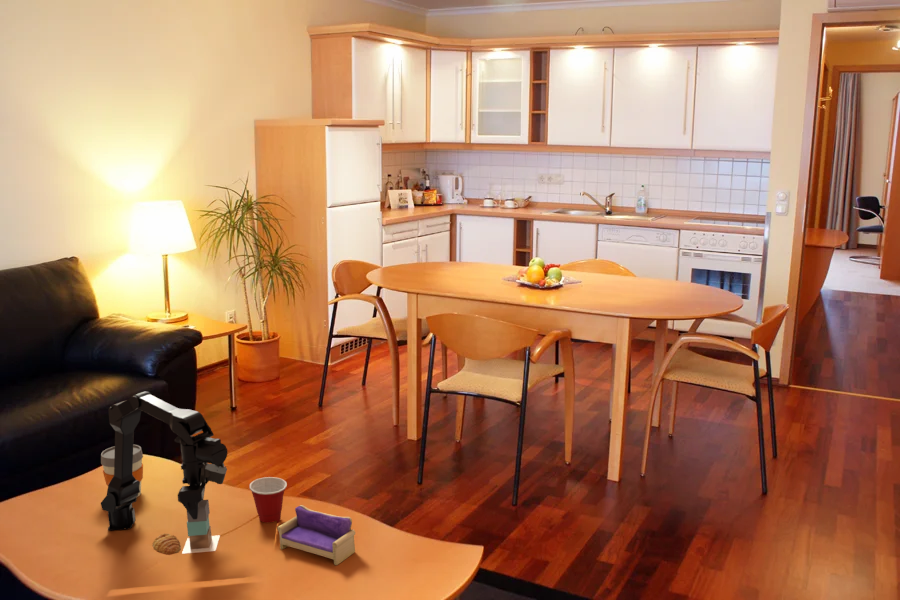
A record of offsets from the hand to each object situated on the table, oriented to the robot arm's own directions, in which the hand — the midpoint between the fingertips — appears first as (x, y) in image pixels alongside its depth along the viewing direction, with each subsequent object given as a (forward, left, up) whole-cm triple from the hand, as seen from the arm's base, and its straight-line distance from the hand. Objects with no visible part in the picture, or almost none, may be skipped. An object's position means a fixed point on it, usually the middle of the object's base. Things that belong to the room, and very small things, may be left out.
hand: (198, 511), depth 230 cm
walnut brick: (0, 0, -10) cm, 10 cm away
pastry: (-9, +1, -12) cm, 15 cm away
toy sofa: (+32, -7, -11) cm, 35 cm away
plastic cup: (+18, +13, -11) cm, 25 cm away
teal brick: (0, 0, -6) cm, 6 cm away
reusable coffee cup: (-30, +41, -11) cm, 52 cm away
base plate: (0, 0, -11) cm, 11 cm away
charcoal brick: (0, 0, -2) cm, 2 cm away
